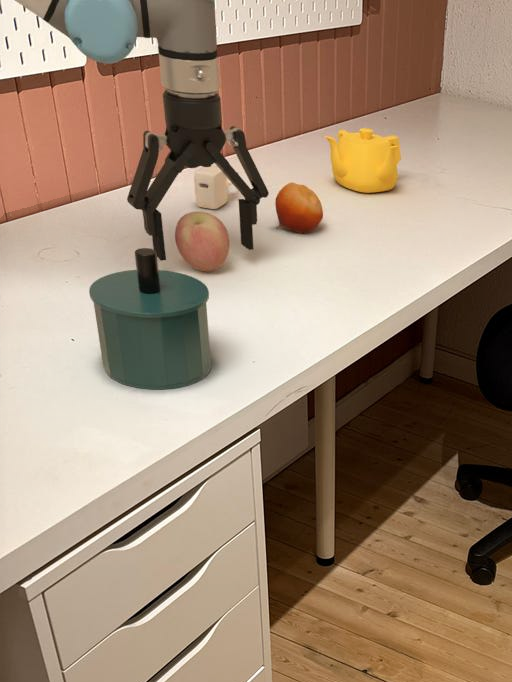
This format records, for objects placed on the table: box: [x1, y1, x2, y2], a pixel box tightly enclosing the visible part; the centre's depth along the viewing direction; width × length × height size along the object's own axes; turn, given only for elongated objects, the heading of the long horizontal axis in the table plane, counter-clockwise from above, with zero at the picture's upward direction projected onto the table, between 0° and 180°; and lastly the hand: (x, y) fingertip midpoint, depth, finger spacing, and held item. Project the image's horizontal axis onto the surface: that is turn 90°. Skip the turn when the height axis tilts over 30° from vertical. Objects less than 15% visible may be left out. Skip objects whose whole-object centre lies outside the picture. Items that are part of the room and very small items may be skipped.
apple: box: [174, 211, 231, 272], centre depth 141 cm, size 8×8×8 cm
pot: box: [93, 302, 212, 390], centre depth 116 cm, size 13×13×9 cm
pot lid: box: [88, 247, 210, 318], centre depth 111 cm, size 13×13×6 cm
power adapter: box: [193, 164, 233, 210], centre depth 166 cm, size 11×5×6 cm, turn 168°
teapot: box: [323, 127, 402, 194], centre depth 181 cm, size 14×13×10 cm
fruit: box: [274, 182, 324, 234], centre depth 160 cm, size 8×8×8 cm
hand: (204, 252), depth 142 cm, fingers open, 13 cm apart
